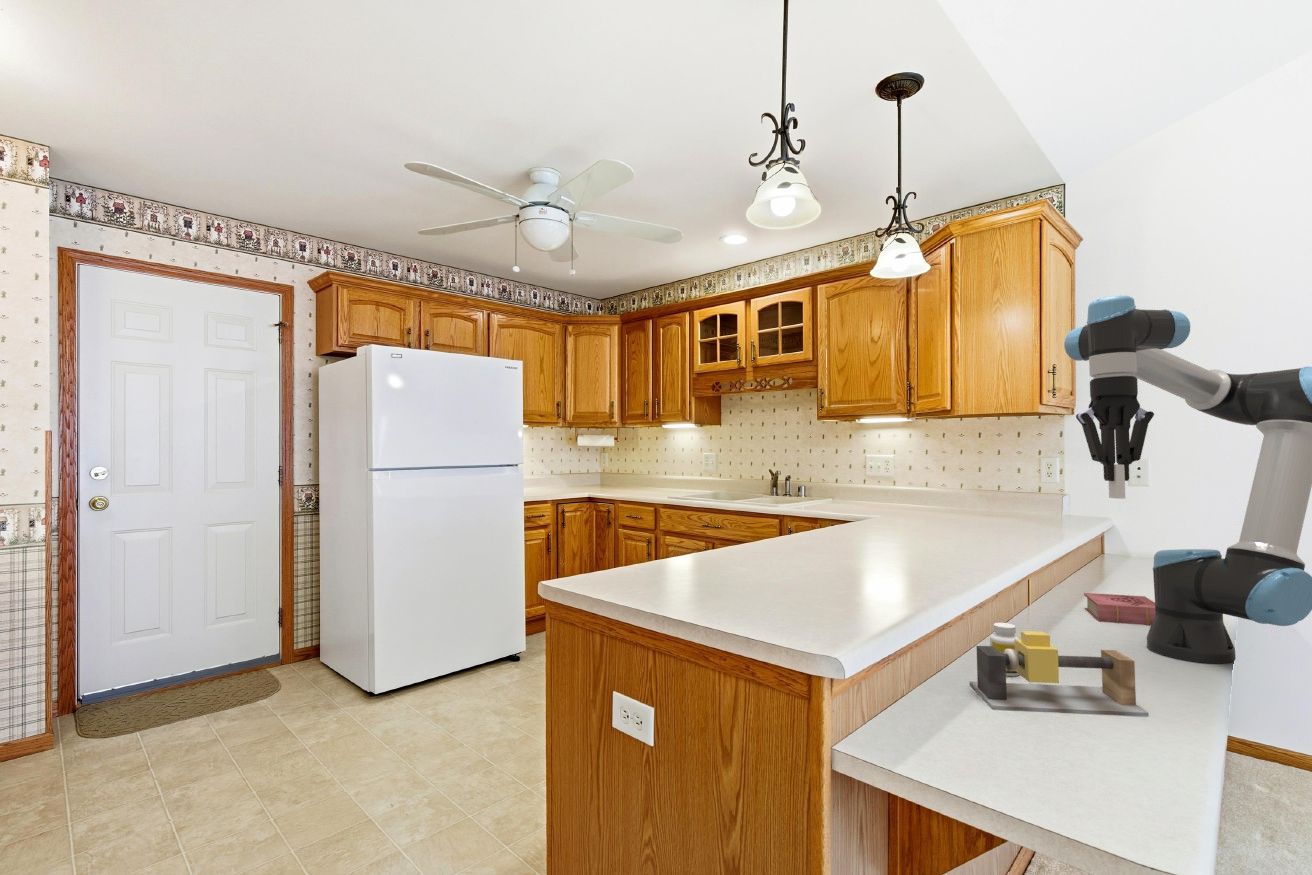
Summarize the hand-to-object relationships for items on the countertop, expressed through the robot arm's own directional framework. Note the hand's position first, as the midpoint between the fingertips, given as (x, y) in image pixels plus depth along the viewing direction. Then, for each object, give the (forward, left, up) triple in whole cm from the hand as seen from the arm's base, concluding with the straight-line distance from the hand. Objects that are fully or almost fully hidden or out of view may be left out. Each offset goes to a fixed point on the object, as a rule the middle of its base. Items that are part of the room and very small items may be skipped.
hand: (1117, 497), depth 122 cm
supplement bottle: (+19, -6, -37) cm, 42 cm away
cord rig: (+16, +8, -36) cm, 41 cm away
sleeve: (+19, +8, -32) cm, 38 cm away
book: (-29, -55, -37) cm, 72 cm away
